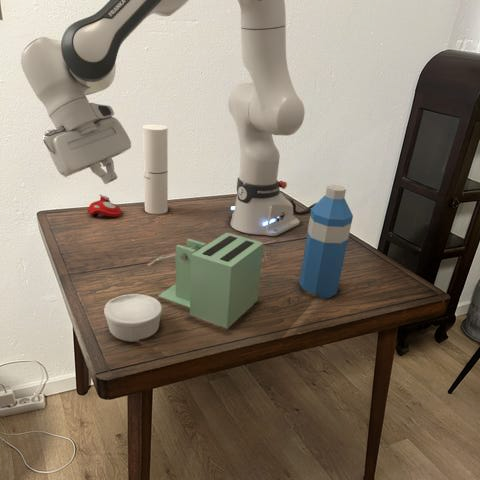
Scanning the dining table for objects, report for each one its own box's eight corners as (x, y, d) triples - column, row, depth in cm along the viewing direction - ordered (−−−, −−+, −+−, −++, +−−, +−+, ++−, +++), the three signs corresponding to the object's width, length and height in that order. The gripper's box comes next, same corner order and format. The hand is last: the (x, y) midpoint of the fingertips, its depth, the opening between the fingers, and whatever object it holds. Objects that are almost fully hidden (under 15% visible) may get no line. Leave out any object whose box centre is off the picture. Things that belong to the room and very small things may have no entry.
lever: (149, 271, 110) (144, 261, 109) (163, 263, 114) (159, 253, 113) (191, 260, 103) (186, 250, 102) (204, 252, 107) (200, 241, 106)
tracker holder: (128, 211, 150) (99, 210, 142) (124, 224, 152) (95, 223, 145) (108, 191, 155) (79, 189, 148) (104, 204, 158) (76, 202, 150)
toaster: (188, 319, 104) (190, 253, 96) (222, 292, 115) (226, 231, 107) (226, 333, 101) (231, 266, 93) (257, 304, 112) (264, 242, 104)
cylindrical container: (163, 215, 153) (162, 131, 139) (141, 212, 154) (138, 127, 140) (170, 207, 159) (170, 126, 145) (149, 204, 160) (147, 123, 146)
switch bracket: (158, 300, 110) (157, 245, 103) (180, 284, 117) (181, 231, 109) (199, 315, 106) (202, 259, 99) (221, 298, 113) (224, 244, 105)
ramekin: (143, 309, 106) (142, 288, 103) (173, 333, 99) (173, 311, 96) (95, 325, 99) (93, 303, 97) (123, 352, 93) (122, 329, 90)
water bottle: (312, 301, 115) (331, 196, 101) (291, 283, 121) (306, 182, 108) (344, 294, 118) (367, 192, 105) (322, 277, 125) (340, 179, 112)
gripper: (46, 126, 95) (86, 191, 99) (116, 105, 110) (148, 162, 114) (31, 140, 99) (70, 202, 103) (100, 117, 114) (131, 173, 118)
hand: (111, 181), depth 109 cm, fingers closed
